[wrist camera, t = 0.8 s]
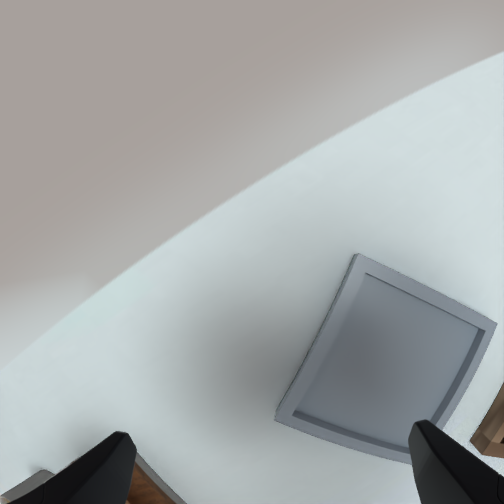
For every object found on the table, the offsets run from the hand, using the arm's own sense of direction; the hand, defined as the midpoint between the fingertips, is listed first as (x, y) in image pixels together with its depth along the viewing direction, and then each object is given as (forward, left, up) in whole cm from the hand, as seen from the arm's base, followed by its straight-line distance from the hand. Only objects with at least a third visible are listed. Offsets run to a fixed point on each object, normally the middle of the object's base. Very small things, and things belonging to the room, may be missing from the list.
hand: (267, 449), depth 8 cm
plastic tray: (+1, -9, -15) cm, 18 cm away
